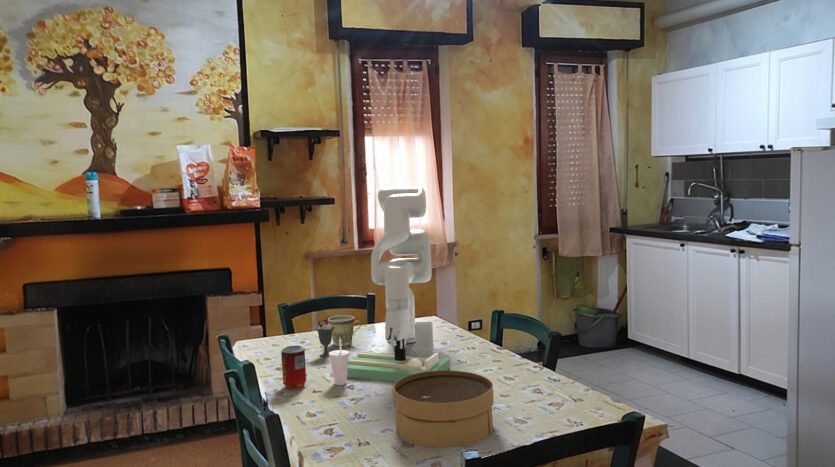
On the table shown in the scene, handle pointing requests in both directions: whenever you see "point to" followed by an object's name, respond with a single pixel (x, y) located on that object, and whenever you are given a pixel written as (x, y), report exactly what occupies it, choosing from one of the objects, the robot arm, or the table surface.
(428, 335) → the skincare box
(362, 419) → the table surface
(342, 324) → the ceramic cup
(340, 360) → the smoothie
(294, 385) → the soda can
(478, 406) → the steamer basket
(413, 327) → the robot arm
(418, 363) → the ball
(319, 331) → the sundae
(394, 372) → the green
